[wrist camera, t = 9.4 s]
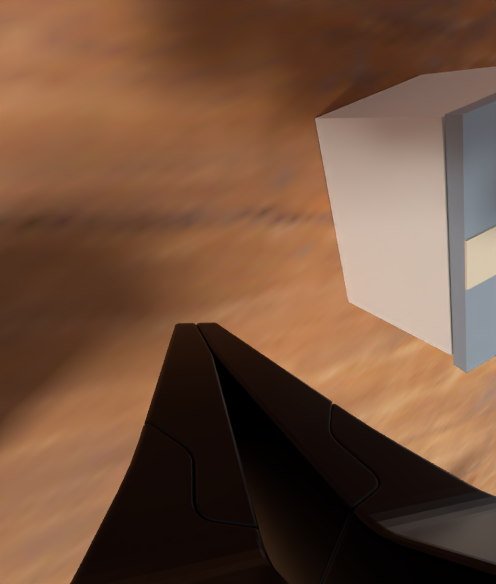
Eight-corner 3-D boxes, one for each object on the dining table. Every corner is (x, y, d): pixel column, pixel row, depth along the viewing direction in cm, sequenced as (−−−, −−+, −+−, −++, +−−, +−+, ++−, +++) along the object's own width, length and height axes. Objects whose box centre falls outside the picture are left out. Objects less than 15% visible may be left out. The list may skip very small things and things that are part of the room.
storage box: (348, 301, 28) (451, 355, 22) (314, 118, 23) (442, 117, 16) (431, 251, 31) (546, 286, 24) (421, 74, 25) (568, 58, 18)
